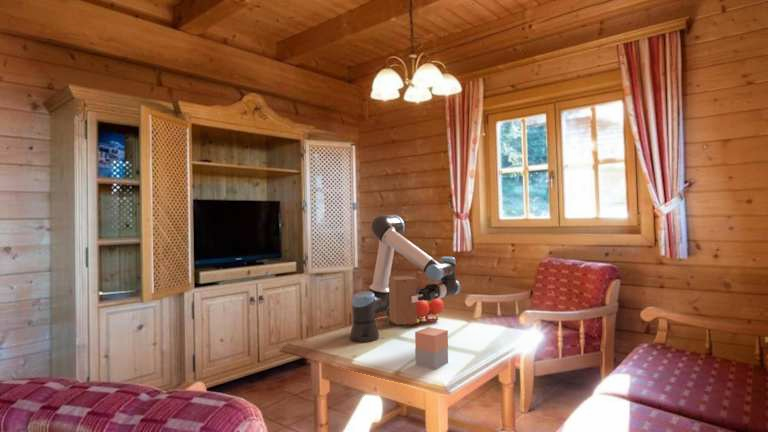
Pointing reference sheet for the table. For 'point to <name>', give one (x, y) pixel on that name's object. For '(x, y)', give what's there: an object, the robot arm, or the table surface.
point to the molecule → (428, 310)
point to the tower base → (431, 358)
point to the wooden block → (402, 299)
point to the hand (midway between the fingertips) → (401, 297)
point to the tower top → (431, 339)
